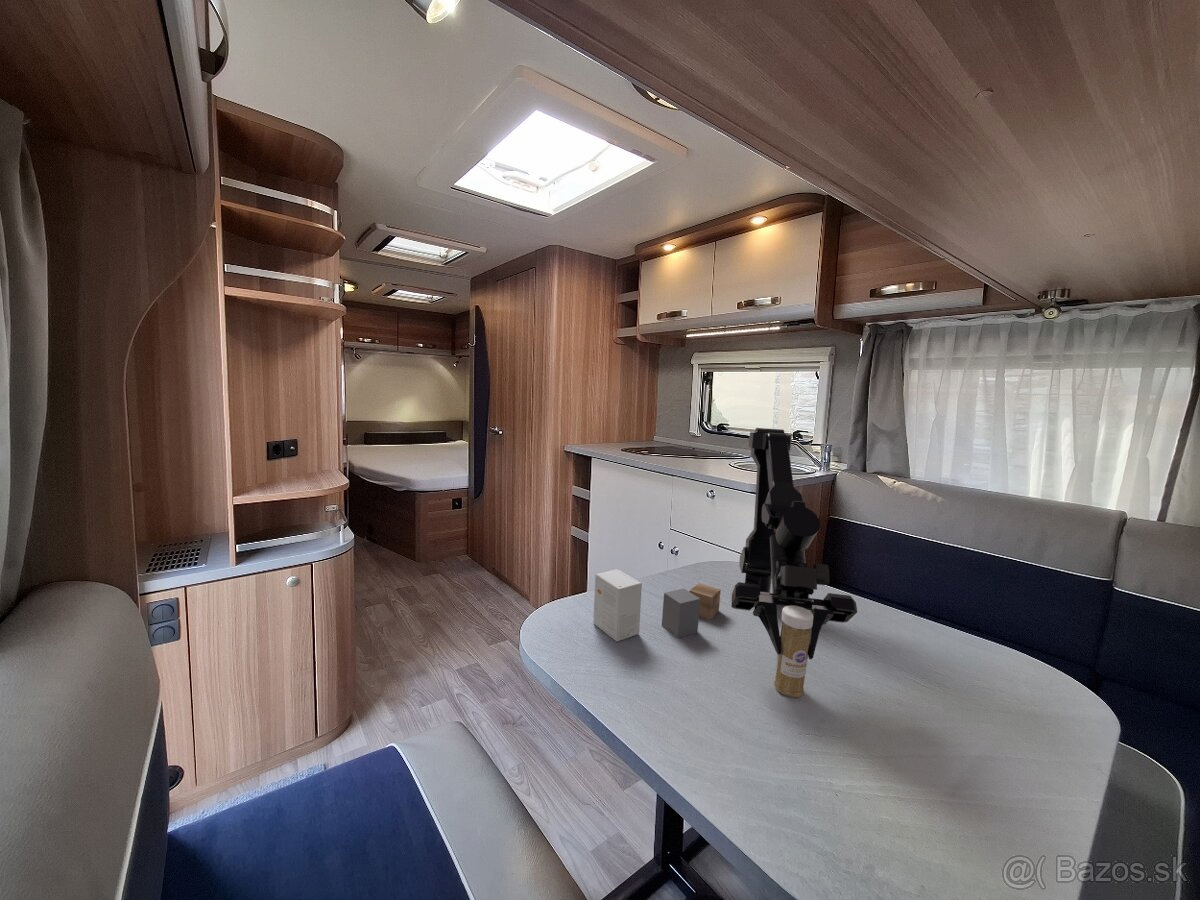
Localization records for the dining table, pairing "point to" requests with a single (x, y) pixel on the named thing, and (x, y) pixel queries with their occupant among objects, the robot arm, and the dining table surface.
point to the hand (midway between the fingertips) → (794, 656)
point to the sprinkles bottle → (793, 650)
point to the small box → (617, 604)
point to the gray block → (680, 612)
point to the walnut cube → (707, 599)
